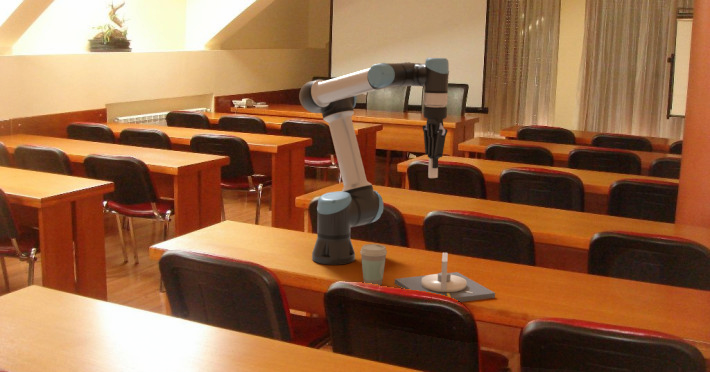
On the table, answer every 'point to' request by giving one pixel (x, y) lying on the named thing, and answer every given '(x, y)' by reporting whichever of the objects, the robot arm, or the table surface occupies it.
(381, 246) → the coffee cup
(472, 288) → the dial plate
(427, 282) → the dial
